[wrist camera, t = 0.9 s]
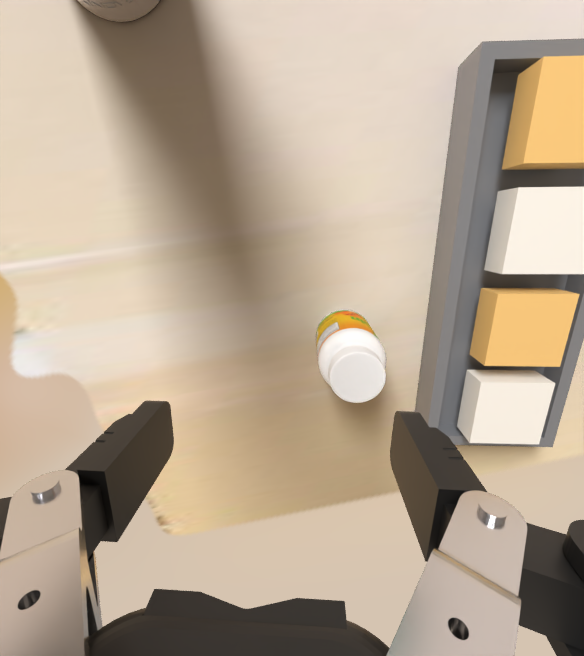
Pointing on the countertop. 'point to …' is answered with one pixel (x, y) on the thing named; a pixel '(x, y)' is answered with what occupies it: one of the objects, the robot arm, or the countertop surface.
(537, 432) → the key
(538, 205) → the key
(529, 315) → the key
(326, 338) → the supplement bottle
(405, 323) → the countertop surface
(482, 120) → the keypad base
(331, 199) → the countertop surface
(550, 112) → the key
